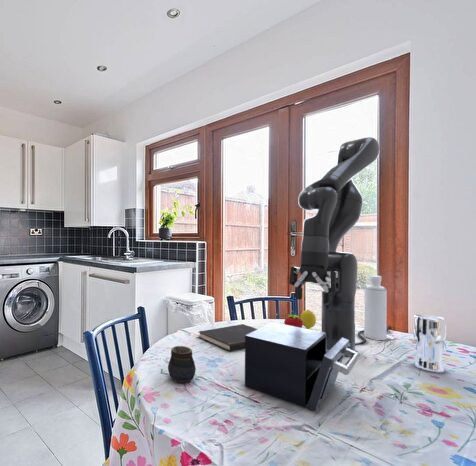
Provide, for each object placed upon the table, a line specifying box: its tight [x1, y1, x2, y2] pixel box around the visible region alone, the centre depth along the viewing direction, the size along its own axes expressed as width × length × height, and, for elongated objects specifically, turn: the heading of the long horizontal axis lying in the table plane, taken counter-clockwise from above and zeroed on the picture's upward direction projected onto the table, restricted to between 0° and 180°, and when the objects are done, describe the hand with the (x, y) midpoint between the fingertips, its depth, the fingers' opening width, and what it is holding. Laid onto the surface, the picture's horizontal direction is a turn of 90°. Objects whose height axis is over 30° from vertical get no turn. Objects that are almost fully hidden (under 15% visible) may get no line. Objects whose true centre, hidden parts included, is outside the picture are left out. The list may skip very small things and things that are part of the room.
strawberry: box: [283, 312, 303, 328], centre depth 120 cm, size 6×8×10 cm
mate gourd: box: [167, 345, 197, 384], centre depth 84 cm, size 7×8×10 cm
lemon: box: [299, 309, 317, 329], centre depth 130 cm, size 6×6×8 cm
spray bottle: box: [363, 275, 388, 341], centre depth 120 cm, size 7×7×25 cm
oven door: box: [306, 337, 361, 412], centre depth 74 cm, size 5×18×13 cm, turn 135°
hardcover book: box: [197, 323, 258, 352], centre depth 116 cm, size 16×23×2 cm
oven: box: [244, 321, 327, 409], centre depth 82 cm, size 14×18×13 cm
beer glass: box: [412, 313, 447, 374], centre depth 92 cm, size 7×7×15 cm
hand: (312, 301), depth 99 cm, fingers open, 8 cm apart
